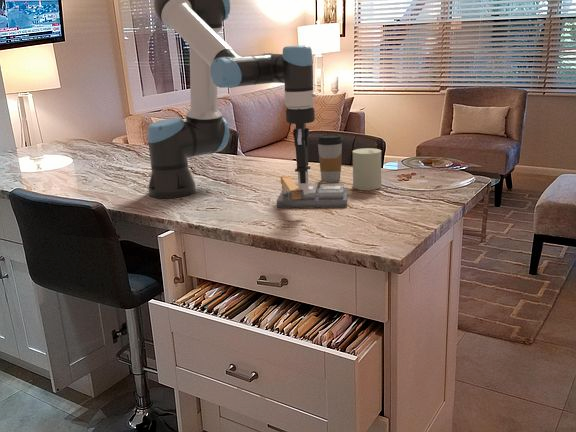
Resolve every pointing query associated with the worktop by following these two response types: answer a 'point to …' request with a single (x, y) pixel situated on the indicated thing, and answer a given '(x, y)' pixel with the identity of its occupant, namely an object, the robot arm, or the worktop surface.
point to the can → (367, 169)
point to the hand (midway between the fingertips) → (303, 193)
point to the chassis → (316, 197)
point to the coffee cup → (330, 157)
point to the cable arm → (291, 188)
